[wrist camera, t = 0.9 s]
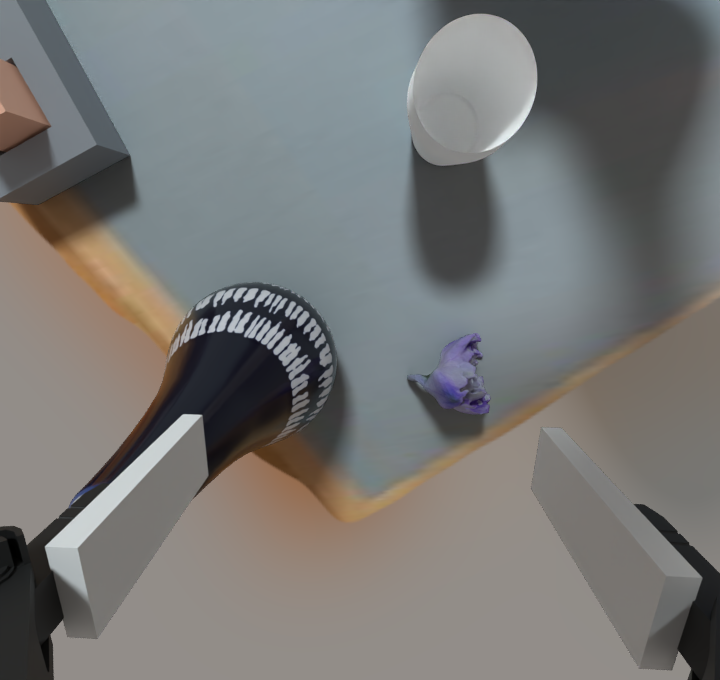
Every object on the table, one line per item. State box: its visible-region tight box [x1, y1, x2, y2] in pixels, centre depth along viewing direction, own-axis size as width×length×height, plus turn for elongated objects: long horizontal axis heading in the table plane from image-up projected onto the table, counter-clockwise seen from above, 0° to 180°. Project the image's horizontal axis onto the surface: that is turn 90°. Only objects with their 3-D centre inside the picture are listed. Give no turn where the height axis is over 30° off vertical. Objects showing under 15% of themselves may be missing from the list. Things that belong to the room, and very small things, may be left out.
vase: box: [69, 282, 337, 508], centre depth 31 cm, size 16×16×30 cm
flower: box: [407, 333, 491, 414], centre depth 42 cm, size 9×9×10 cm
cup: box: [407, 14, 537, 166], centre depth 33 cm, size 9×9×12 cm
